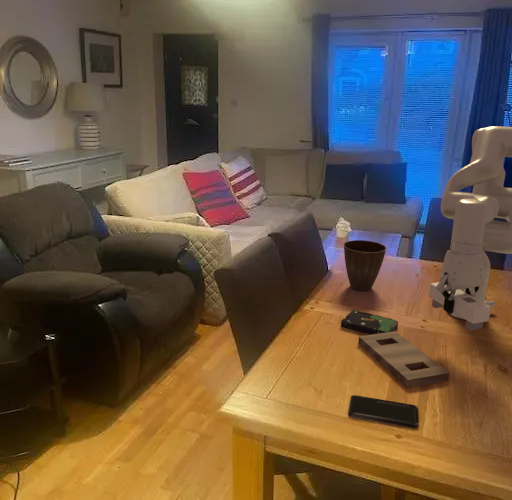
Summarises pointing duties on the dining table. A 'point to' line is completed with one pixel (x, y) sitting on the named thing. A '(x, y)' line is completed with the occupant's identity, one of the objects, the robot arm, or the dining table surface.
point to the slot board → (403, 359)
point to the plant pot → (363, 263)
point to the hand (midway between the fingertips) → (456, 309)
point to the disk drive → (368, 323)
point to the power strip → (463, 307)
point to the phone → (384, 411)
